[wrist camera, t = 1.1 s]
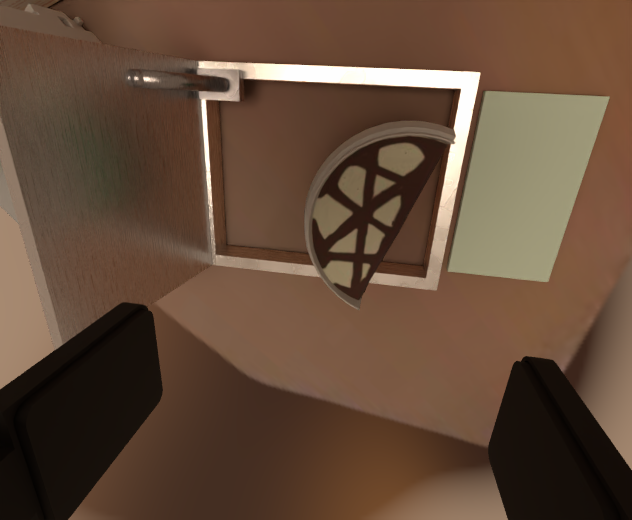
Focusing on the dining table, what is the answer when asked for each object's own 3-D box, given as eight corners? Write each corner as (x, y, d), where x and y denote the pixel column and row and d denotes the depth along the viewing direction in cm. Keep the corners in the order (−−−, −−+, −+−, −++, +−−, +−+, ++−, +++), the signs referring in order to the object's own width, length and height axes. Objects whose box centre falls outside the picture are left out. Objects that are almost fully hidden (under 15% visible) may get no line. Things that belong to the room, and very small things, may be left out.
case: (173, 62, 29) (-44, 20, 14) (472, 74, 26) (591, 37, 11) (191, 250, 35) (54, 357, 21) (432, 277, 33) (475, 424, 18)
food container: (361, 87, 28) (351, 80, 19) (435, 122, 28) (461, 132, 19) (300, 228, 33) (268, 276, 24) (362, 257, 33) (355, 316, 24)
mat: (483, 91, 26) (485, 90, 26) (604, 97, 25) (609, 96, 25) (446, 268, 32) (447, 271, 31) (544, 279, 31) (547, 282, 30)
